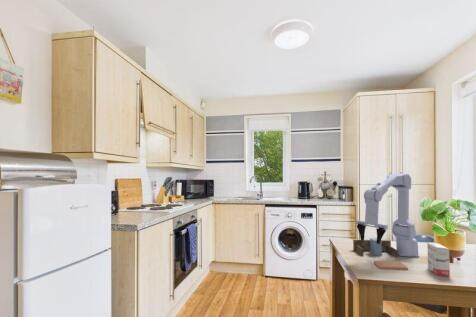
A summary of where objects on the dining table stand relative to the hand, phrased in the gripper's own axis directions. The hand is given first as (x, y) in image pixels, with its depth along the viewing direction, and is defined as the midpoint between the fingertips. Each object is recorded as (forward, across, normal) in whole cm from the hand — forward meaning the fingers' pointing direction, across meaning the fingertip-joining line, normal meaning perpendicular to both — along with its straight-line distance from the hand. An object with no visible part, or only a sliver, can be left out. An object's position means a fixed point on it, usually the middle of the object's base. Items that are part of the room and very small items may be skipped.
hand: (370, 241), depth 125 cm
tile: (+10, +7, +6) cm, 14 cm away
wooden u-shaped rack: (+8, -6, +20) cm, 23 cm away
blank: (+8, -5, +20) cm, 22 cm away
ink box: (+8, +24, +14) cm, 29 cm away
